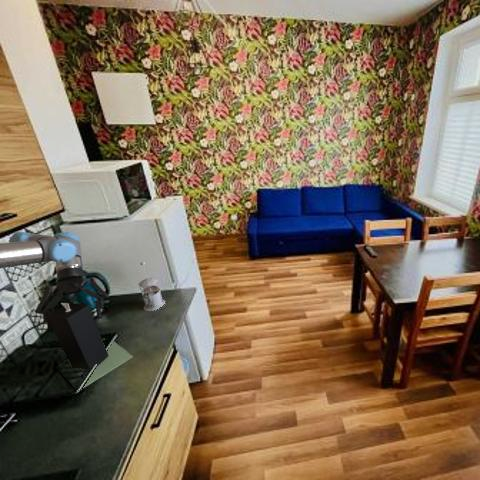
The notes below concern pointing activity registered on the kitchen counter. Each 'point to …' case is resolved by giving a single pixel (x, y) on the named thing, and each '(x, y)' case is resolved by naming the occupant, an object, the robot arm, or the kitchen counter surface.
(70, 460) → the kitchen counter surface
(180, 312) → the kitchen counter surface
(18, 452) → the kitchen counter surface
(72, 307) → the tissue box
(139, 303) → the kitchen counter surface
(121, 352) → the mat
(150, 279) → the french press
